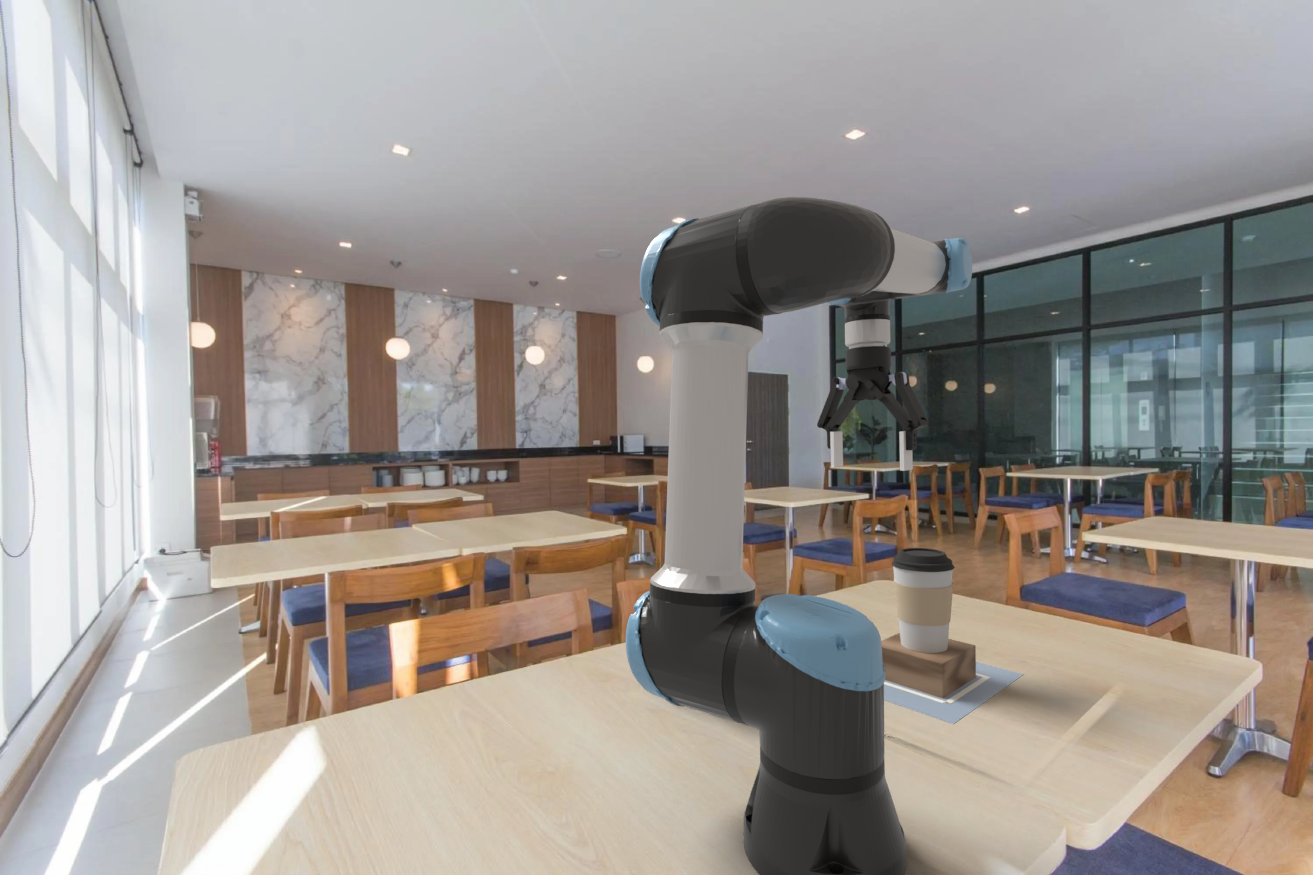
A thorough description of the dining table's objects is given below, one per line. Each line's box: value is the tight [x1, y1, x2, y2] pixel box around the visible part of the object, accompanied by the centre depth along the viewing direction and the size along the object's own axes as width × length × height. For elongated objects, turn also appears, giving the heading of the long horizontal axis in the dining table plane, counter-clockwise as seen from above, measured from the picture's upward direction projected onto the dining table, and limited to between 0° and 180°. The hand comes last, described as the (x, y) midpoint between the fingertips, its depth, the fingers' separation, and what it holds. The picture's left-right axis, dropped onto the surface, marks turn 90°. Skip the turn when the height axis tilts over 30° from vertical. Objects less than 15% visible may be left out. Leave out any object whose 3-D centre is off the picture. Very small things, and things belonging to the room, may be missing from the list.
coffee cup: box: [891, 547, 955, 653], centre depth 98 cm, size 9×9×15 cm
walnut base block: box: [881, 632, 977, 698], centre depth 98 cm, size 11×11×5 cm
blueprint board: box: [884, 661, 1024, 725], centre depth 99 cm, size 24×20×1 cm
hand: (870, 468), depth 111 cm, fingers open, 13 cm apart
